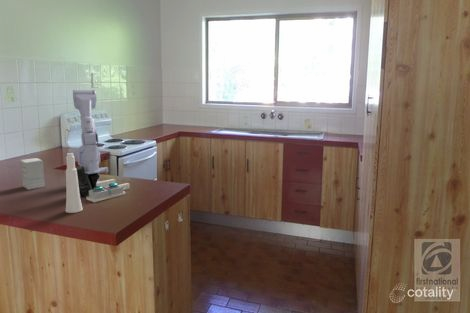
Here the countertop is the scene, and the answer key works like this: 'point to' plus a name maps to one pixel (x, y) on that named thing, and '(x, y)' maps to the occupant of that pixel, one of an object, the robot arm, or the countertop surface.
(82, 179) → the supplement bottle
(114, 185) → the plunger inner
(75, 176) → the cosmetic bottle
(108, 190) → the white knob panel
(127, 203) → the countertop surface
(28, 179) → the supplement box
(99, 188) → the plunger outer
